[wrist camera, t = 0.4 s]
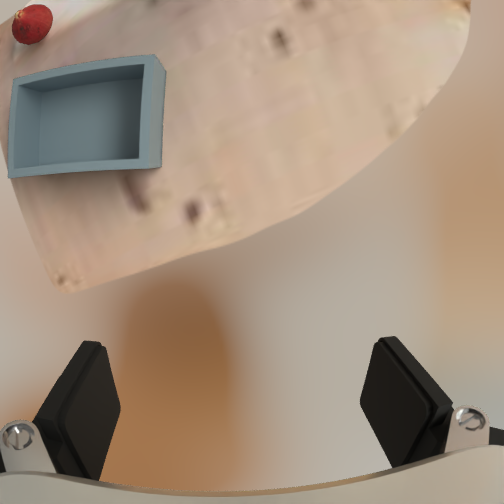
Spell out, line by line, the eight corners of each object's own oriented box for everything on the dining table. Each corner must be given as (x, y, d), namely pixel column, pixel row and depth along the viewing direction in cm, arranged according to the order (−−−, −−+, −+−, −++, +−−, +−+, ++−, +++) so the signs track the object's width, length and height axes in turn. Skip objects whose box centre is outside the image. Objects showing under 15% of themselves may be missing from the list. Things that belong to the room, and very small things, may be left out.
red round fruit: (58, 44, 30) (30, 27, 23) (26, 54, 30) (-5, 41, 22) (64, 10, 29) (39, -11, 21) (32, 20, 28) (4, 3, 21)
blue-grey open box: (41, 87, 32) (13, 79, 25) (166, 71, 33) (155, 54, 27) (36, 174, 35) (8, 178, 28) (161, 166, 37) (148, 168, 30)
